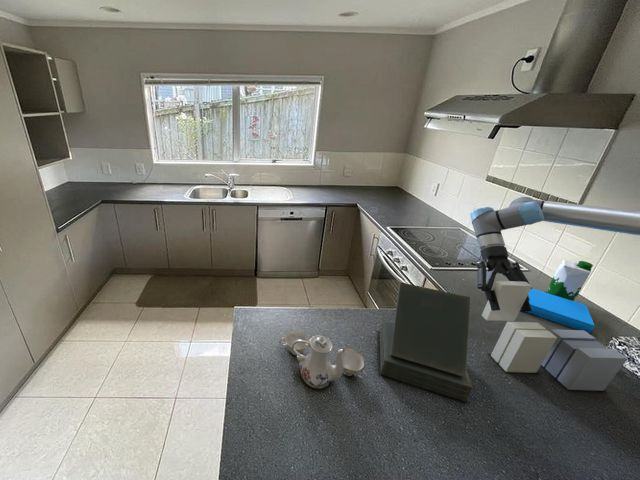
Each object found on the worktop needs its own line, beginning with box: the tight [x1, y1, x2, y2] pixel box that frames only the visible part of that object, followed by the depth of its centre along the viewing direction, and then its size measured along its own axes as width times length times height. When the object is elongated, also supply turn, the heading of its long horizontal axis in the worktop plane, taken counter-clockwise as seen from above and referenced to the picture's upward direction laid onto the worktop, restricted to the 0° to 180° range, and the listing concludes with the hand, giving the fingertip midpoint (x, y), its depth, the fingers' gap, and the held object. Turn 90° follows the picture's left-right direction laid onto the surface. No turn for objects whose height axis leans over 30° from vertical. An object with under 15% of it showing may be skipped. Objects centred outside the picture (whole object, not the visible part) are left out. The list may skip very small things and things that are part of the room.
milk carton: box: [547, 259, 594, 301], centre depth 124 cm, size 9×9×20 cm
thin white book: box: [481, 280, 533, 322], centre depth 97 cm, size 2×10×15 cm, turn 90°
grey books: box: [541, 328, 629, 392], centre depth 88 cm, size 12×11×14 cm
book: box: [520, 288, 595, 335], centre depth 120 cm, size 17×4×25 cm
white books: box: [490, 321, 557, 374], centre depth 91 cm, size 6×10×15 cm, turn 90°
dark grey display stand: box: [378, 281, 473, 402], centre depth 88 cm, size 23×20×25 cm
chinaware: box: [279, 329, 367, 390], centre depth 86 cm, size 28×17×17 cm, turn 70°
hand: (511, 310), depth 95 cm, fingers closed on thin white book, 10 cm apart
